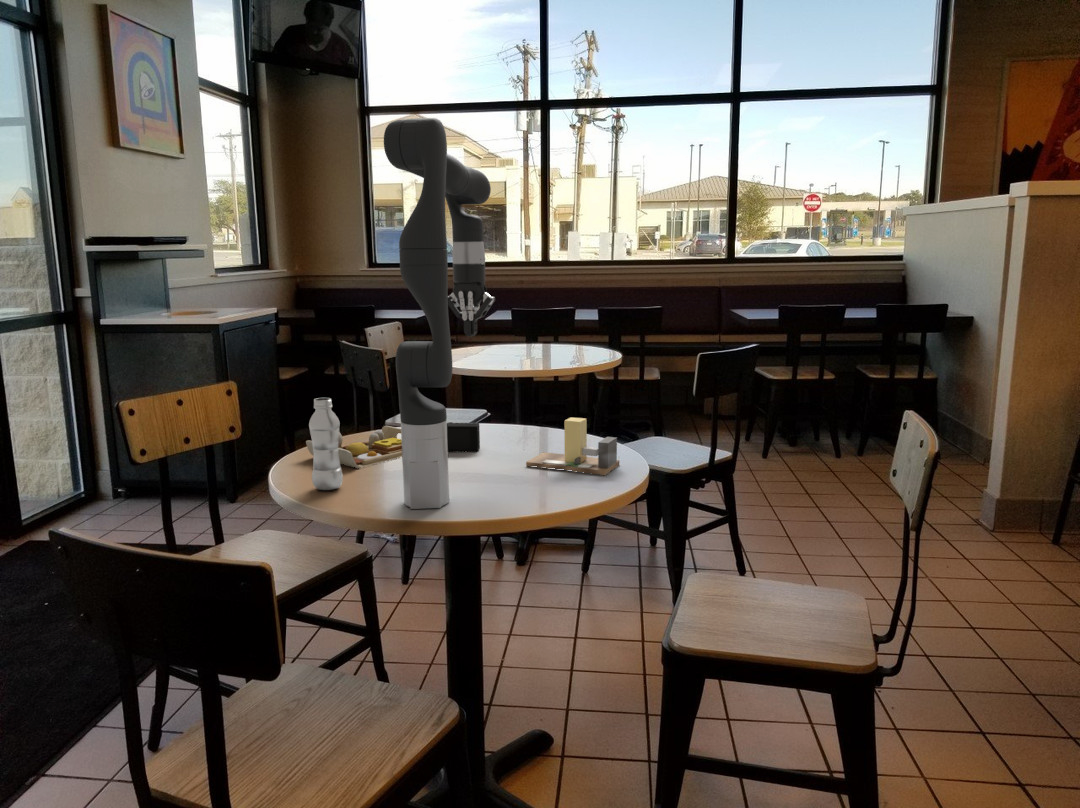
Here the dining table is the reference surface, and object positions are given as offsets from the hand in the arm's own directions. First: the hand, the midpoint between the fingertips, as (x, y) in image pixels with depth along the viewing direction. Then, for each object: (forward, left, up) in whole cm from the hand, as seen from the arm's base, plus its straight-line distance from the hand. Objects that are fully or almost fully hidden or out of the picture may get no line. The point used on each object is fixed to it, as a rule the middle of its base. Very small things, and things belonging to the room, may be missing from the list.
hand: (470, 336), depth 187 cm
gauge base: (-6, -24, -31) cm, 39 cm away
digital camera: (+14, +4, -31) cm, 34 cm away
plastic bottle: (-18, +32, -31) cm, 48 cm away
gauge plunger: (-8, -25, -30) cm, 40 cm away
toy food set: (+12, +27, -32) cm, 43 cm away
